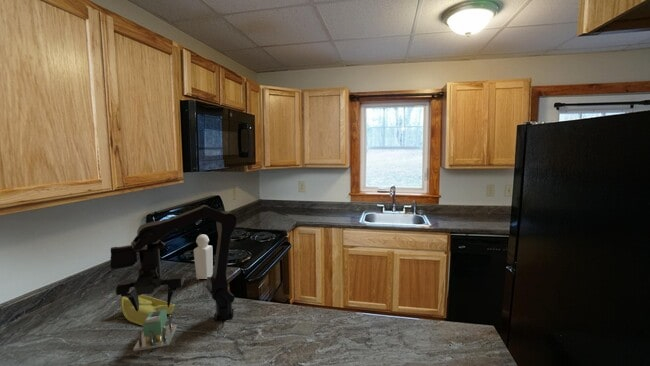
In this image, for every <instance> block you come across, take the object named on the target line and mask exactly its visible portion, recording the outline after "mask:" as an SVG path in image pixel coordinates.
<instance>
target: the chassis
mask: <svg viewBox="0 0 650 366" xmlns="http://www.w3.org/2000/svg"><path fill="white" fill-rule="evenodd" d="M172 323H173V321H172V314H168V325H167V323H166V324H165V327H163V331H162V334H157V335H152V331H149V336H146V337H144V332H142V330H138V331H137V337H138V340H137V342H136V343H135V345H134V347H133V348H132V351H133V352H138V351H143V350H150V349H156V348H162V347H168V346H170V343H171V341H172V339H173V336H174V334H175V331H176V329H177V327H178V326H177V324H172Z"/></svg>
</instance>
